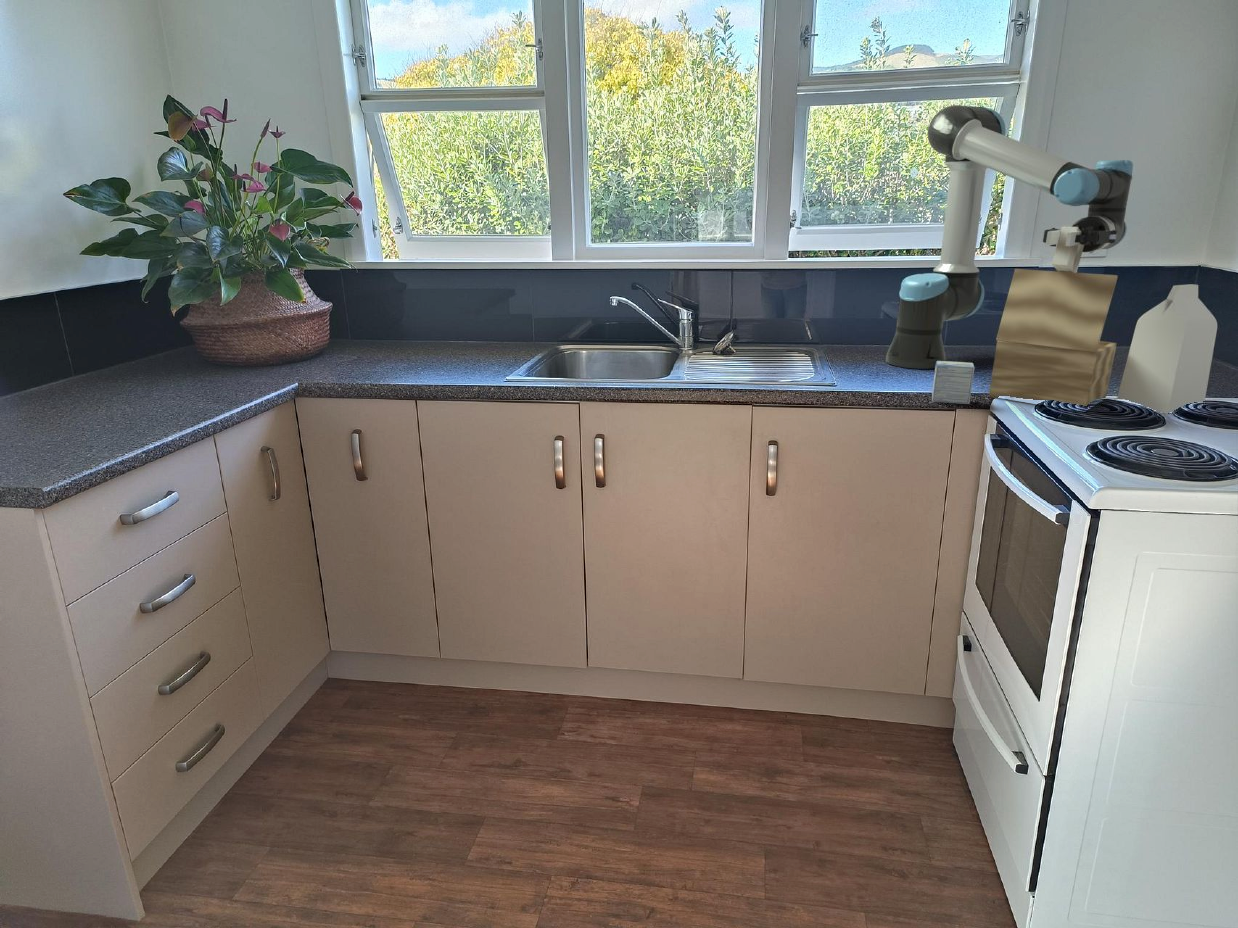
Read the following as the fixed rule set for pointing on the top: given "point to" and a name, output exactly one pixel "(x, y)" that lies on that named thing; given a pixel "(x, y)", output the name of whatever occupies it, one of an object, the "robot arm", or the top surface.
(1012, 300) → the lid
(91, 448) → the top surface
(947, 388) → the grey wooden block
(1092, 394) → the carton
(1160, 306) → the milk
